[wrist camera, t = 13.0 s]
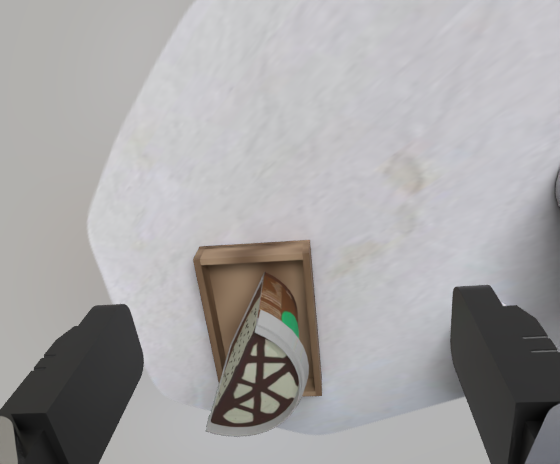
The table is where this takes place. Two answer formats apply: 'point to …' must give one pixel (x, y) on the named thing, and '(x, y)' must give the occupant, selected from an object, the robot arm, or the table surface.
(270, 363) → the food container
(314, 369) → the walnut tray
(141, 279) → the table surface
